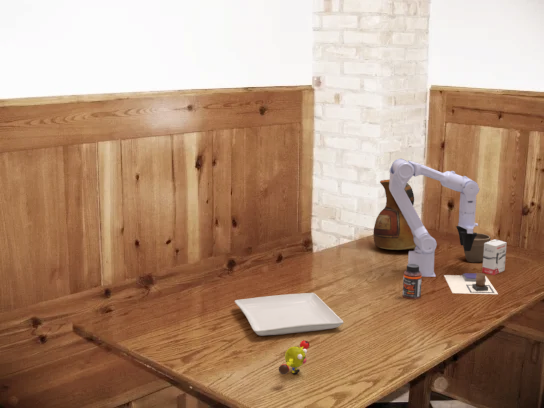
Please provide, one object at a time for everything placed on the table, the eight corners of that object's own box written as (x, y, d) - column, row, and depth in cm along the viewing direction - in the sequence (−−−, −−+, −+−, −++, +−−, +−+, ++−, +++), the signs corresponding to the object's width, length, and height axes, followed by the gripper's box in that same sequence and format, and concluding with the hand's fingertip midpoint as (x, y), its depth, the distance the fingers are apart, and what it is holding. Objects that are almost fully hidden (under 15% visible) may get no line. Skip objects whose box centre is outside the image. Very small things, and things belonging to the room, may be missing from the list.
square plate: (254, 343, 192) (254, 330, 191) (233, 310, 217) (233, 298, 217) (344, 332, 199) (344, 320, 198) (314, 301, 224) (314, 290, 224)
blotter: (452, 294, 229) (452, 292, 229) (443, 276, 249) (443, 274, 248) (498, 295, 228) (498, 293, 227) (485, 277, 247) (485, 275, 247)
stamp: (476, 291, 231) (477, 276, 230) (472, 287, 235) (472, 272, 234) (488, 290, 231) (488, 276, 230) (483, 286, 235) (484, 272, 234)
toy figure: (293, 389, 163) (293, 363, 162) (272, 385, 165) (272, 359, 164) (317, 359, 180) (317, 335, 178) (297, 356, 182) (297, 332, 180)
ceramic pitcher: (393, 240, 300) (395, 173, 294) (430, 249, 285) (433, 179, 279) (363, 248, 287) (364, 178, 281) (400, 258, 272) (402, 184, 266)
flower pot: (453, 257, 272) (454, 233, 270) (478, 255, 276) (479, 231, 274) (469, 265, 261) (471, 240, 259) (495, 263, 265) (496, 238, 263)
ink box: (493, 276, 248) (495, 245, 246) (481, 273, 251) (483, 243, 249) (505, 271, 254) (507, 241, 251) (493, 269, 257) (494, 238, 255)
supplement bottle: (400, 299, 225) (401, 266, 223) (405, 293, 230) (406, 261, 228) (417, 301, 223) (419, 268, 220) (422, 296, 228) (424, 263, 225)
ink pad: (465, 281, 241) (465, 277, 241) (462, 276, 247) (462, 272, 247) (485, 281, 240) (485, 278, 240) (482, 276, 246) (482, 273, 246)
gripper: (482, 216, 239) (480, 253, 242) (474, 207, 254) (472, 243, 256) (462, 216, 240) (460, 253, 243) (455, 207, 254) (453, 242, 257)
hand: (465, 248), depth 250 cm, fingers open, 7 cm apart
